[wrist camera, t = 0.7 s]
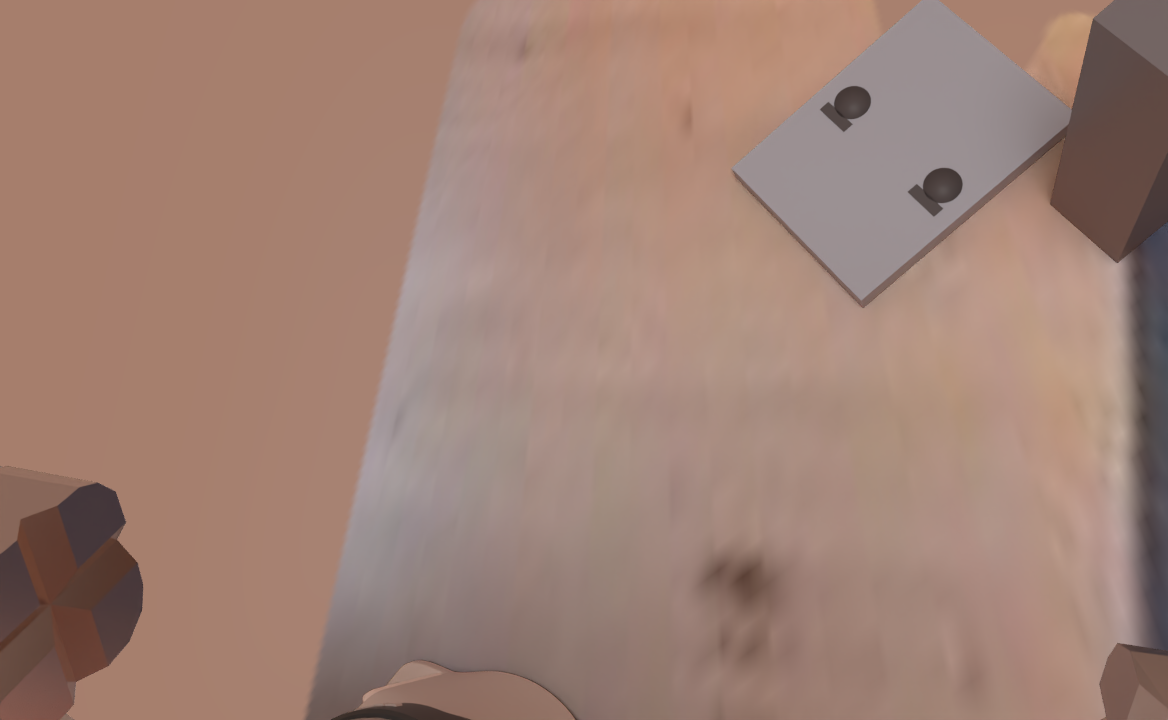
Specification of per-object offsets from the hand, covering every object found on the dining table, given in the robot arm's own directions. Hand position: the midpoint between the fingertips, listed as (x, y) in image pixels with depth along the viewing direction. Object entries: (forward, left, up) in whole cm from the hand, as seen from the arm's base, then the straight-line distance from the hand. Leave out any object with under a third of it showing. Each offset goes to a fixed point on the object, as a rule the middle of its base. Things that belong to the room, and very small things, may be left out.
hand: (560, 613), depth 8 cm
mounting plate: (+19, +21, -54) cm, 61 cm away
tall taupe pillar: (+25, +10, -54) cm, 60 cm away
